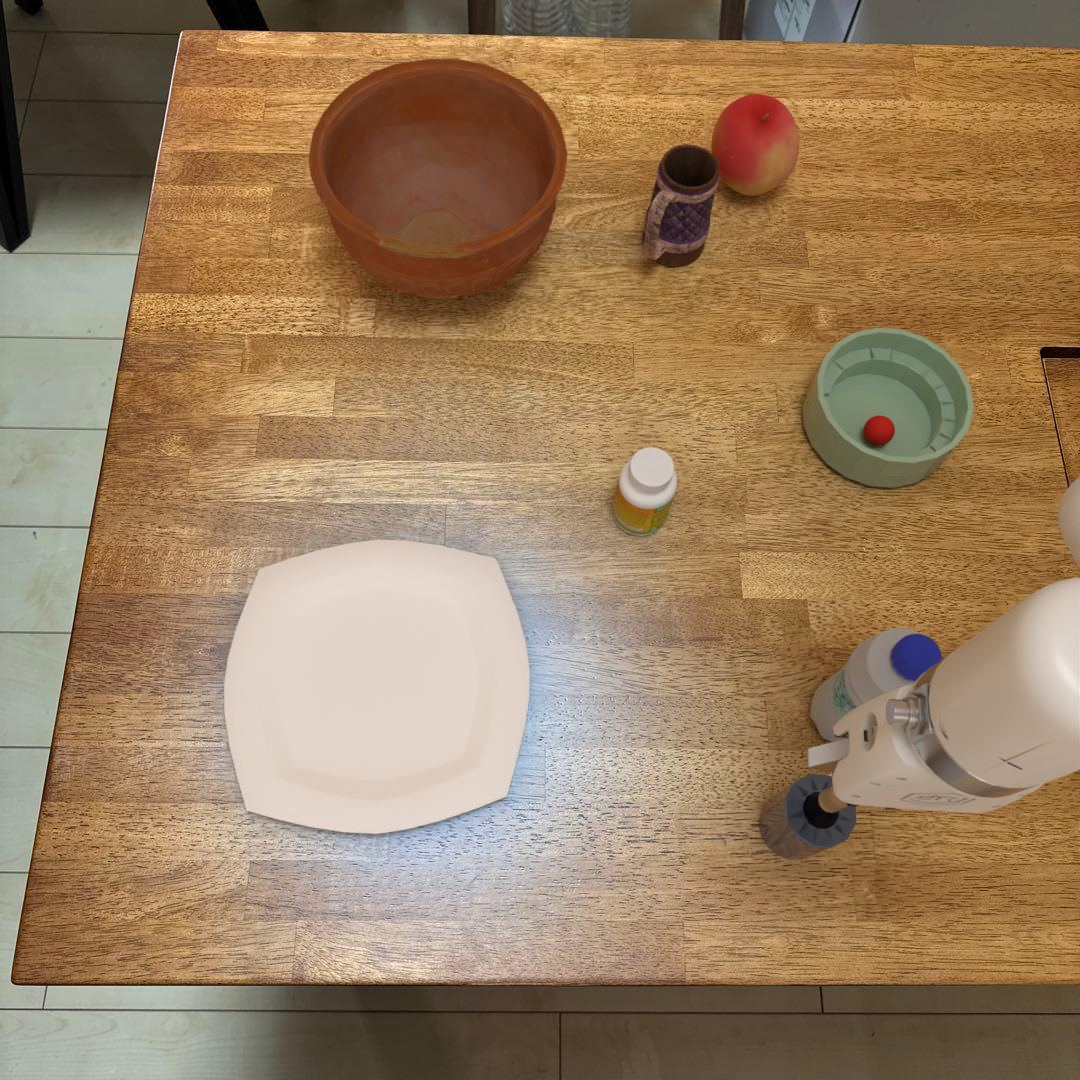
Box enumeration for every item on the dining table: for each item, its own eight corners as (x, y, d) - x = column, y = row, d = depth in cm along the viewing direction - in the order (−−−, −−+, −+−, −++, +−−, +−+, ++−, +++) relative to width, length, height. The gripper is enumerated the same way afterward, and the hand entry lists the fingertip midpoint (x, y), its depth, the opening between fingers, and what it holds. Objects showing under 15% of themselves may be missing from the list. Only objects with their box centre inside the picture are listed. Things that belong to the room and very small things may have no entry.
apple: (696, 204, 115) (713, 137, 106) (709, 142, 119) (726, 72, 110) (780, 221, 115) (804, 155, 106) (790, 158, 119) (814, 89, 109)
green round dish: (941, 366, 108) (965, 333, 102) (955, 495, 102) (981, 467, 96) (798, 356, 108) (814, 322, 102) (804, 484, 102) (821, 455, 96)
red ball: (900, 421, 103) (891, 410, 100) (896, 449, 102) (888, 438, 100) (870, 422, 104) (861, 411, 102) (866, 450, 104) (857, 439, 101)
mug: (663, 207, 115) (680, 125, 104) (716, 238, 114) (739, 159, 103) (612, 265, 112) (623, 187, 101) (665, 298, 110) (683, 222, 99)
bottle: (891, 716, 92) (987, 651, 74) (846, 769, 90) (933, 715, 72) (833, 665, 94) (912, 589, 76) (787, 716, 92) (858, 650, 74)
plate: (237, 552, 97) (232, 544, 95) (521, 541, 98) (522, 532, 96) (219, 845, 86) (213, 842, 84) (537, 827, 88) (538, 824, 86)
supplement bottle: (650, 546, 98) (665, 503, 89) (602, 521, 99) (611, 475, 90) (675, 503, 100) (692, 457, 91) (627, 478, 101) (639, 430, 92)
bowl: (311, 331, 107) (283, 235, 93) (356, 151, 117) (336, 40, 103) (545, 359, 107) (551, 267, 93) (570, 175, 116) (579, 68, 103)
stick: (841, 789, 78) (909, 758, 65) (842, 813, 77) (910, 786, 64) (817, 787, 78) (881, 755, 65) (818, 811, 77) (882, 784, 64)
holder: (821, 795, 89) (854, 776, 81) (824, 861, 87) (858, 849, 79) (758, 791, 89) (784, 771, 81) (759, 857, 87) (786, 844, 79)
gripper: (837, 783, 51) (753, 833, 68) (1150, 806, 51) (989, 850, 68) (830, 640, 54) (751, 722, 71) (1125, 662, 54) (977, 738, 71)
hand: (868, 784), depth 69 cm, fingers closed on stick, 1 cm apart
